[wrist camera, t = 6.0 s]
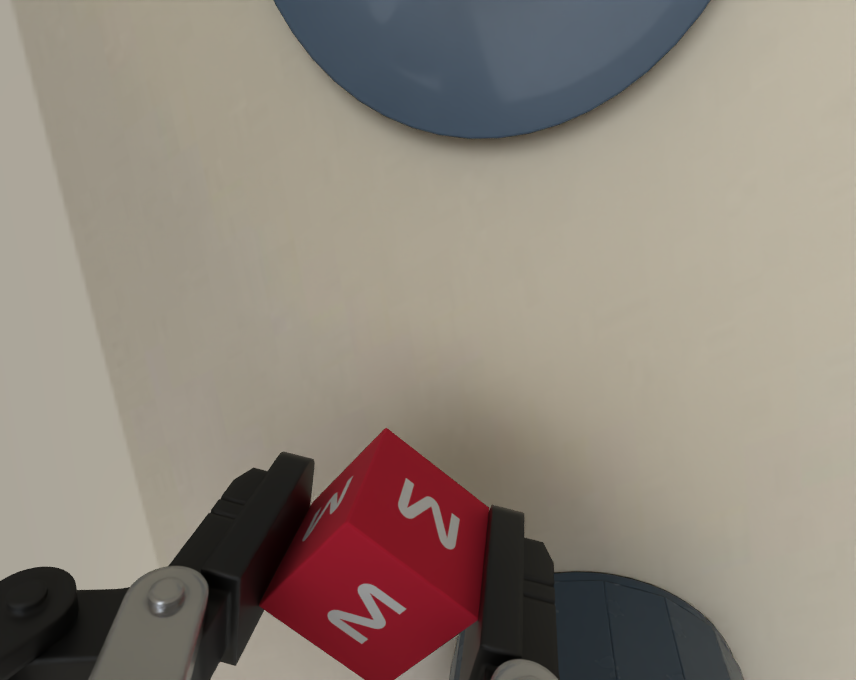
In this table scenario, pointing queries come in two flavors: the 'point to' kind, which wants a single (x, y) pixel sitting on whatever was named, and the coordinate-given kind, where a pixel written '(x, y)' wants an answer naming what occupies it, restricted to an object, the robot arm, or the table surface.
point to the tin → (629, 633)
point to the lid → (487, 56)
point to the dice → (384, 563)
